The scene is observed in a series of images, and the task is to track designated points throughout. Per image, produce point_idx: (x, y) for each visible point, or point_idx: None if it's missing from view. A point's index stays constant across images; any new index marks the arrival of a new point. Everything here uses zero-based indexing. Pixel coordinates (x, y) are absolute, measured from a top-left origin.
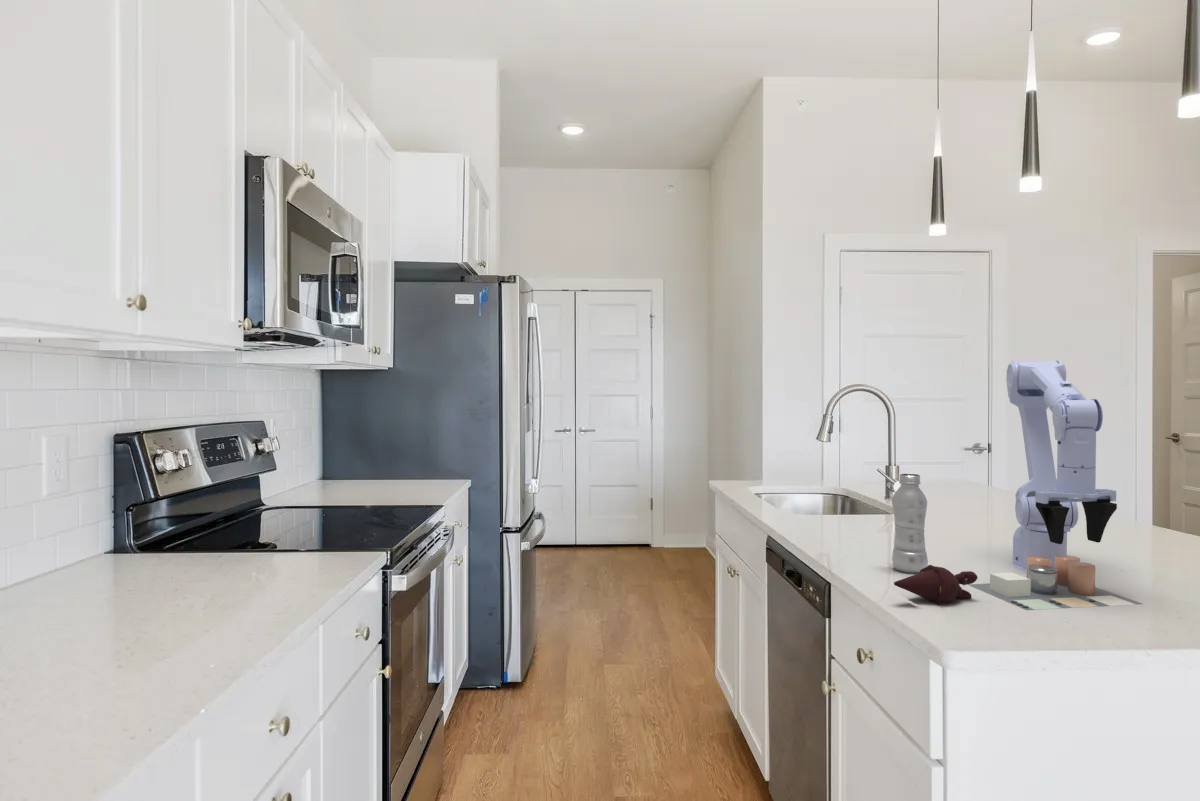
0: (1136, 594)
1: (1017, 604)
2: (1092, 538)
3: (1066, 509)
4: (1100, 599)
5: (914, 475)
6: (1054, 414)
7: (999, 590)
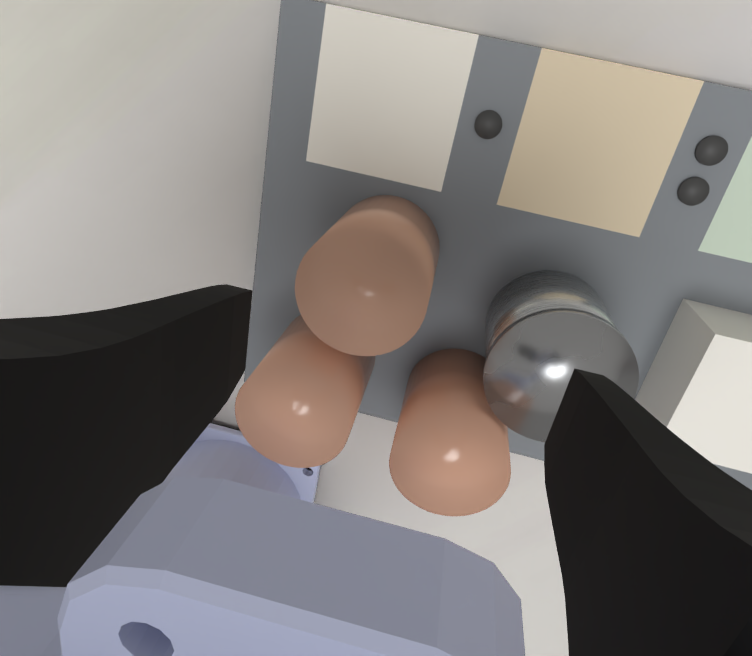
0: (137, 164)
1: None
2: (240, 341)
3: None
4: (415, 132)
5: None
6: None
7: None
